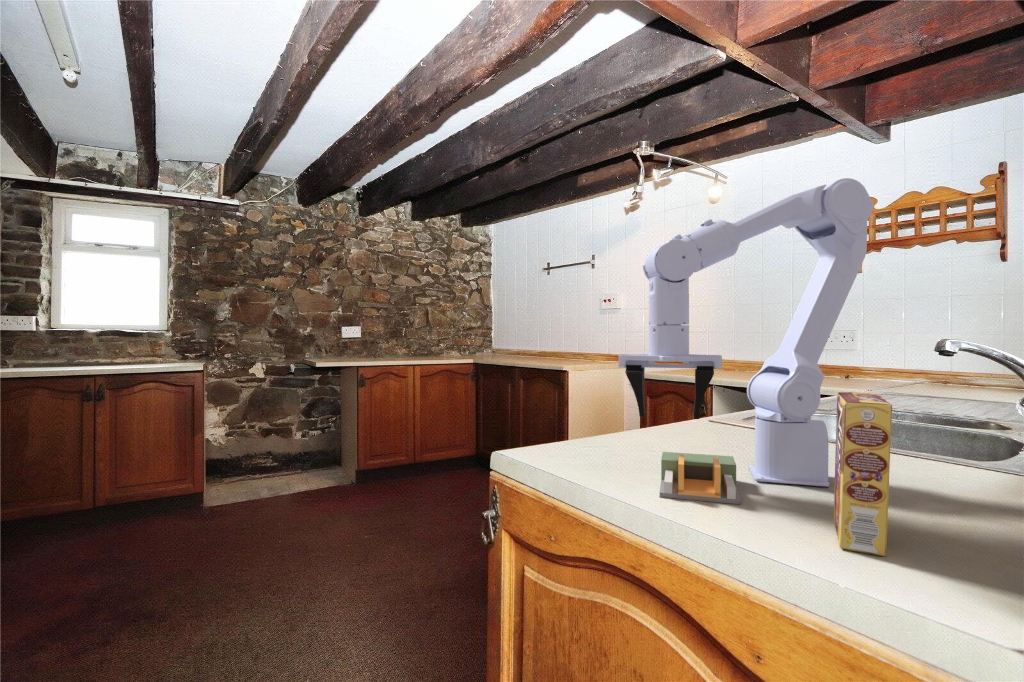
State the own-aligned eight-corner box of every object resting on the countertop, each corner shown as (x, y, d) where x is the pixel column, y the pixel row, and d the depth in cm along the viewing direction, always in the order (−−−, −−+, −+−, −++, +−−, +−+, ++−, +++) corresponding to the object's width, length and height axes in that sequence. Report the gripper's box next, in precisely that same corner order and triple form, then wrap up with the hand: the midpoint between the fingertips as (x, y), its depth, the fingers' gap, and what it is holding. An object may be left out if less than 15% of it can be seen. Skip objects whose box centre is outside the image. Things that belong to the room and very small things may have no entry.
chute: (718, 485, 72) (718, 457, 72) (720, 498, 67) (720, 467, 66) (679, 482, 73) (679, 454, 73) (678, 494, 68) (678, 464, 68)
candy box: (891, 559, 50) (893, 403, 50) (839, 550, 52) (840, 400, 52) (878, 527, 58) (879, 392, 58) (833, 520, 60) (834, 390, 60)
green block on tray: (732, 479, 76) (732, 456, 76) (740, 504, 66) (740, 477, 66) (662, 474, 79) (662, 451, 79) (659, 496, 69) (659, 471, 69)
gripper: (615, 325, 75) (616, 419, 75) (723, 324, 70) (723, 424, 70) (621, 325, 81) (621, 411, 82) (720, 324, 77) (720, 415, 77)
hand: (668, 416), depth 76 cm, fingers open, 7 cm apart
